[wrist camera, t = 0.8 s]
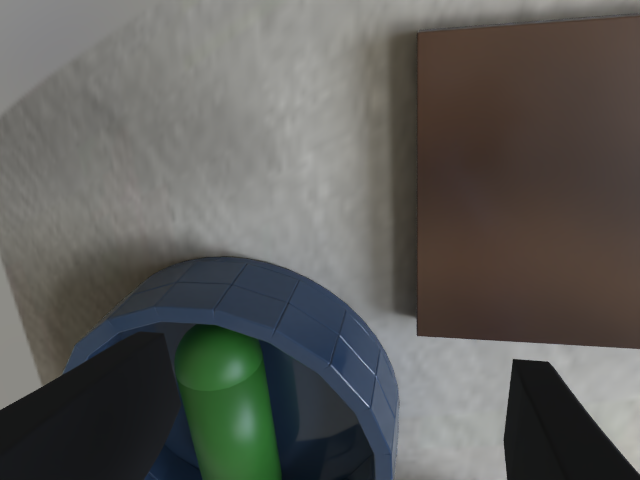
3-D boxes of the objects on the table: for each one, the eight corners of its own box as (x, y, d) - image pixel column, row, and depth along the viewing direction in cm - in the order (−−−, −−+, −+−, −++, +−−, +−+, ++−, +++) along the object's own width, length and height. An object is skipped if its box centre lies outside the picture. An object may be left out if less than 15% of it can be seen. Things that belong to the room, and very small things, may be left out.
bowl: (401, 508, 26) (395, 590, 22) (149, 474, 29) (109, 541, 25) (397, 260, 19) (388, 317, 16) (78, 252, 23) (12, 298, 19)
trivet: (792, 338, 18) (815, 359, 16) (417, 318, 20) (416, 336, 19) (926, -9, 13) (970, -10, 12) (418, 29, 16) (417, 32, 15)
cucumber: (293, 478, 25) (273, 546, 22) (228, 470, 26) (199, 534, 23) (268, 302, 21) (238, 356, 18) (190, 298, 22) (148, 349, 19)
